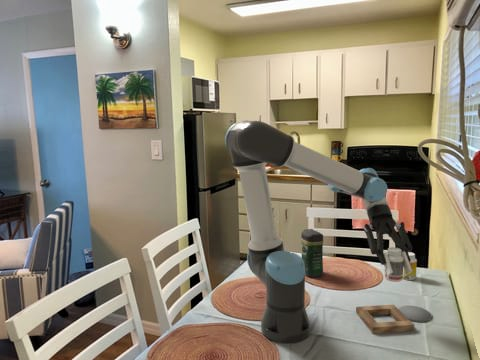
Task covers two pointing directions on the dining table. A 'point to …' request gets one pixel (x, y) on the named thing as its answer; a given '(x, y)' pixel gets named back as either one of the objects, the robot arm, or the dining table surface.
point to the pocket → (384, 327)
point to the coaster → (415, 313)
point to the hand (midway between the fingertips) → (399, 273)
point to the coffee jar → (312, 252)
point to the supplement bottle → (413, 267)
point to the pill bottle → (395, 265)
